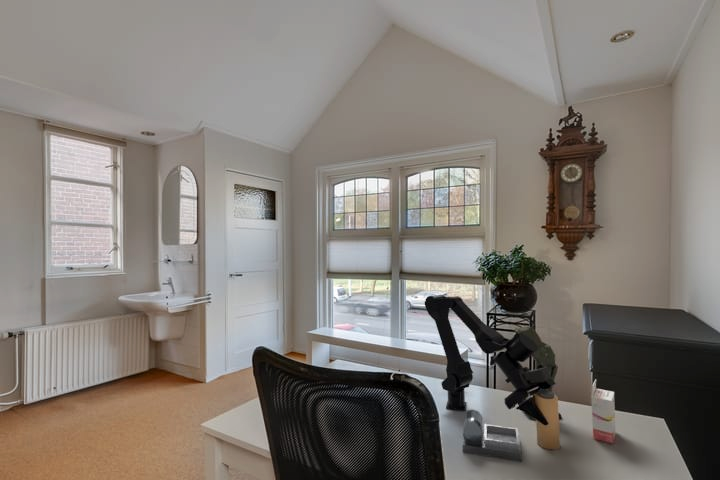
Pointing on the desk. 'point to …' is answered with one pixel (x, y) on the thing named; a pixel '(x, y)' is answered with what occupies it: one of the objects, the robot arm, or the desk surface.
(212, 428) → the desk surface
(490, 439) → the motor mount
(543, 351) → the mechanical leg
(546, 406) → the bottle
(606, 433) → the ink cartridge box
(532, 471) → the desk surface
